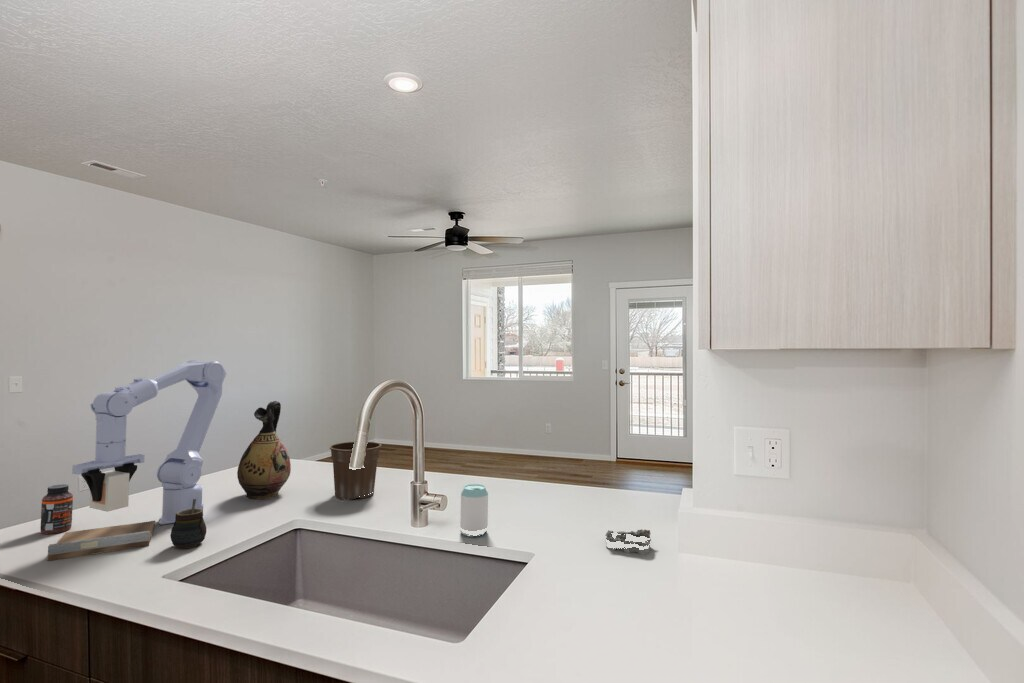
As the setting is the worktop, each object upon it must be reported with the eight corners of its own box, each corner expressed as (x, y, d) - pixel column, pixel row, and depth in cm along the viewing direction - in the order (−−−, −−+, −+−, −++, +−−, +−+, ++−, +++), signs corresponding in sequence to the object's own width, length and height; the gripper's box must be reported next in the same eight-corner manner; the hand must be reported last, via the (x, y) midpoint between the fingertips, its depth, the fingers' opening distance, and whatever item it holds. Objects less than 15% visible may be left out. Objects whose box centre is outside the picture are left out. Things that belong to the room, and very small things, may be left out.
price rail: (149, 539, 120) (149, 530, 120) (148, 540, 119) (149, 532, 119) (49, 553, 111) (49, 544, 111) (47, 555, 110) (48, 546, 110)
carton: (110, 502, 125) (111, 470, 125) (128, 506, 122) (129, 473, 122) (89, 507, 121) (90, 474, 121) (107, 511, 118) (108, 477, 118)
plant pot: (343, 487, 173) (344, 439, 173) (388, 489, 171) (388, 441, 171) (318, 500, 157) (319, 448, 157) (367, 503, 155) (368, 450, 155)
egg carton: (652, 546, 124) (652, 529, 124) (648, 557, 117) (648, 540, 117) (609, 539, 128) (609, 523, 128) (602, 550, 121) (603, 533, 121)
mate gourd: (167, 553, 115) (169, 509, 115) (172, 542, 122) (173, 500, 122) (204, 548, 118) (205, 505, 119) (207, 537, 125) (208, 497, 125)
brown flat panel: (154, 525, 133) (154, 520, 133) (148, 545, 119) (149, 540, 119) (65, 537, 124) (65, 532, 124) (47, 560, 110) (47, 555, 110)
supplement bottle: (52, 536, 125) (54, 489, 125) (33, 533, 126) (35, 488, 126) (78, 527, 130) (79, 483, 131) (59, 525, 132) (61, 482, 132)
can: (492, 531, 132) (492, 485, 133) (479, 540, 126) (480, 491, 126) (468, 526, 135) (469, 482, 135) (455, 535, 129) (455, 488, 129)
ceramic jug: (276, 502, 154) (278, 404, 155) (226, 501, 155) (229, 403, 155) (300, 487, 171) (302, 399, 172) (255, 487, 172) (257, 398, 172)
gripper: (86, 447, 114) (83, 508, 113) (152, 438, 127) (151, 492, 127) (67, 445, 116) (65, 504, 116) (135, 436, 130) (133, 489, 129)
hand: (109, 498), depth 122 cm, fingers closed on carton, 4 cm apart
